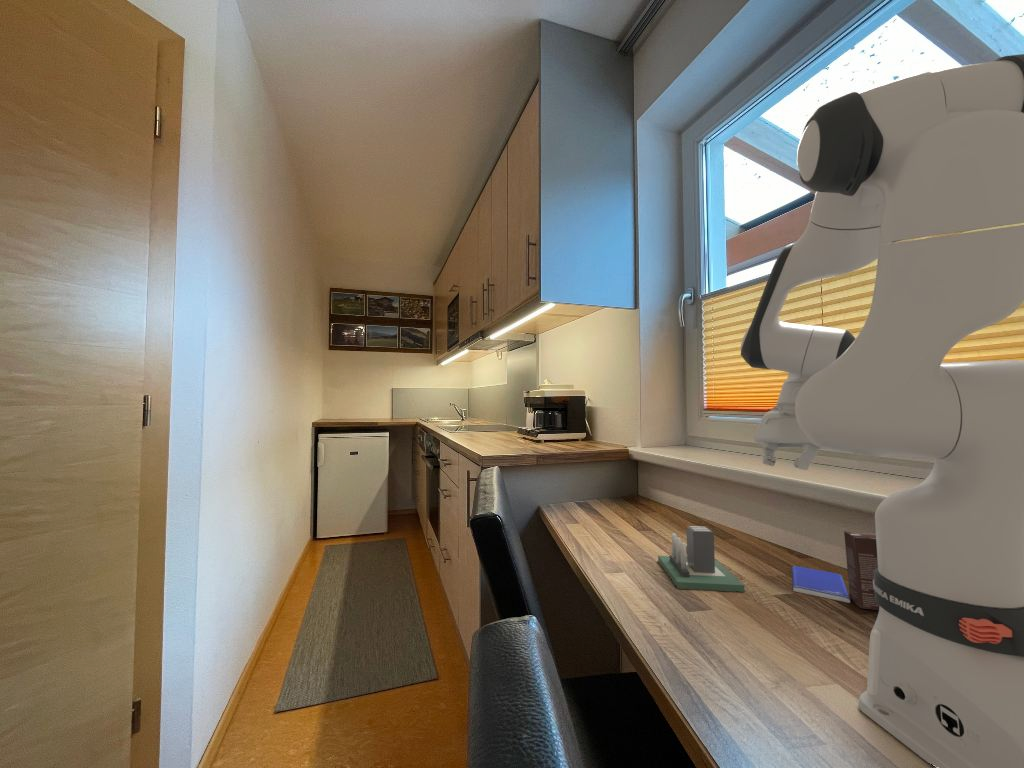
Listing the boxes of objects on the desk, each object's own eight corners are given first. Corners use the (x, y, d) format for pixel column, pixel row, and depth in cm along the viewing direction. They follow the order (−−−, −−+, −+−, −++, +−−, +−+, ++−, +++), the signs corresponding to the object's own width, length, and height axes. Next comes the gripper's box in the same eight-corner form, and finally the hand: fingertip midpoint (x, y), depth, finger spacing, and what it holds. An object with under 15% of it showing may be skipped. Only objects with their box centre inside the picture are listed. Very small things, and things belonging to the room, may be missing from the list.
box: (888, 603, 69) (884, 533, 70) (904, 615, 65) (899, 540, 66) (846, 597, 71) (842, 529, 72) (859, 609, 67) (854, 536, 68)
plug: (715, 573, 78) (713, 531, 79) (694, 572, 79) (693, 530, 79) (707, 565, 82) (706, 526, 83) (687, 564, 83) (686, 525, 83)
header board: (744, 591, 73) (743, 552, 74) (677, 588, 74) (676, 549, 75) (714, 563, 87) (713, 530, 87) (658, 561, 88) (657, 528, 89)
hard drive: (850, 597, 69) (841, 574, 79) (793, 585, 74) (792, 564, 84) (850, 606, 69) (842, 582, 79) (793, 593, 74) (792, 572, 84)
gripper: (757, 402, 91) (738, 457, 90) (827, 392, 71) (805, 463, 69) (783, 412, 91) (764, 468, 89) (861, 406, 71) (839, 478, 69)
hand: (783, 466), depth 79 cm, fingers open, 8 cm apart
